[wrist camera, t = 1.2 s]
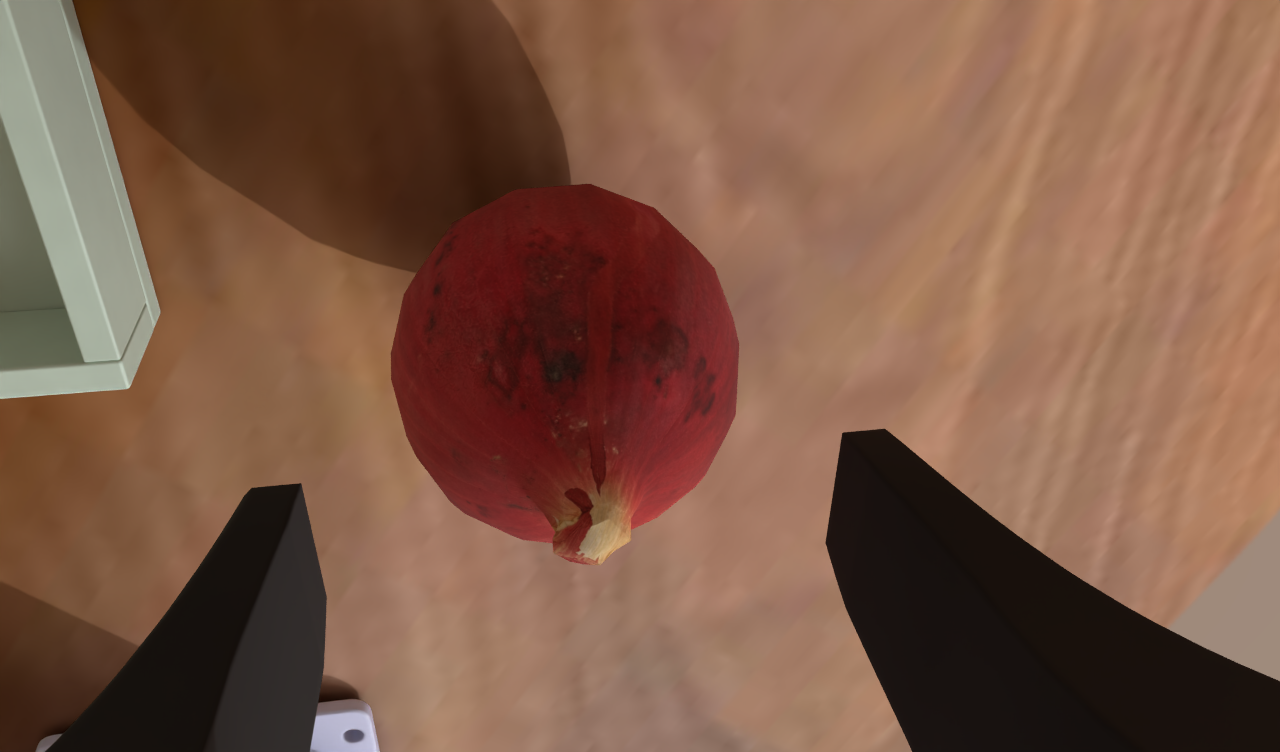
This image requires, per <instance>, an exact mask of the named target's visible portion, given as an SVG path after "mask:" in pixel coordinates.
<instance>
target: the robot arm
mask: <svg viewBox="0 0 1280 752" xmlns="http://www.w3.org/2000/svg"><path fill="white" fill-rule="evenodd" d="M826 546H827V549H828V553H829V556H830V559H831V563H832V566H833V569H834V573H835V576H836V579H837V582H838V586H839V589H840V592H841V595H842V598H843V601H844V604H845V607H846V609H847V612H848V614H849V616H850V618H851V621H852V623H853V625H854V627H855V629H856V632H857V634H858V636H859V638H860V640H861V642H862V645H863V647H864V649H865V651H866V653H867V656H868V658H869V660H870V662H871V664H872V666H873V668H874V670H875V673H876V675H877V677H878V679H879V681H880V683H881V685H882V688H883V690H884V692H885V694H886V696H887V698H888V700H889V702H890V705H891V707H892V709H893V711H894V713H895V715H896V717H897V720H898V722H899V724H900V726H901V728H902V730H903V732H904V734H905V737H906V739H907V741H908V743H909V745H910V748H911V750H912V752H1280V681H1278V680H1276V679H1273V678H1271V677H1269V676H1266V675H1264V674H1262V673H1259V672H1257V671H1254V670H1252V669H1250V668H1248V667H1245V666H1243V665H1241V664H1238V663H1236V662H1234V661H1232V660H1230V659H1227V658H1225V657H1223V656H1221V655H1219V654H1217V653H1215V652H1212V651H1210V650H1208V649H1206V648H1204V647H1202V646H1200V645H1198V644H1196V643H1193V642H1192V641H1190V640H1188V639H1186V638H1184V637H1182V636H1180V635H1178V634H1176V633H1174V632H1172V631H1170V630H1169V629H1167V628H1165V627H1163V626H1161V625H1159V624H1157V623H1155V622H1153V621H1151V620H1149V619H1148V618H1146V617H1144V616H1142V615H1140V614H1138V613H1137V612H1135V611H1133V610H1131V609H1129V608H1128V607H1126V606H1124V605H1123V604H1121V603H1119V602H1118V601H1116V600H1114V599H1113V598H1111V597H1109V596H1108V595H1106V594H1104V593H1103V592H1101V591H1099V590H1098V589H1096V588H1094V587H1093V586H1091V585H1089V584H1088V583H1086V582H1085V581H1083V580H1081V579H1080V578H1078V577H1077V576H1075V575H1074V574H1072V573H1071V572H1069V571H1067V570H1066V569H1064V568H1063V567H1061V566H1060V565H1058V564H1057V563H1056V562H1054V561H1053V560H1051V559H1050V558H1048V557H1047V556H1046V555H1044V554H1043V553H1041V552H1040V551H1039V550H1037V549H1036V548H1034V547H1033V546H1031V545H1030V544H1029V543H1027V542H1026V541H1024V540H1023V539H1022V538H1020V537H1019V536H1017V535H1016V534H1015V533H1013V532H1012V531H1011V530H1009V529H1008V528H1007V527H1005V526H1004V525H1003V524H1001V523H1000V522H999V521H998V520H996V519H995V518H994V517H992V516H991V515H990V514H988V513H987V512H986V511H985V510H983V509H982V508H981V507H980V506H978V505H977V504H976V503H975V502H973V501H972V500H971V499H970V498H968V497H967V496H966V495H965V494H963V493H962V492H961V491H960V490H958V489H957V488H956V487H955V486H954V485H952V484H951V483H950V482H949V481H948V480H946V479H945V478H944V477H943V476H942V475H940V474H939V473H938V472H937V471H935V470H934V469H933V468H932V467H931V466H929V465H928V464H927V463H926V462H925V461H924V460H922V459H921V458H920V457H919V456H918V455H916V454H915V453H914V452H913V451H912V450H910V449H909V448H908V447H907V446H906V445H904V444H903V443H902V442H901V441H900V440H898V439H897V438H896V437H895V436H893V435H892V434H891V433H890V432H888V431H887V430H886V429H877V430H867V431H856V432H845V433H842V439H841V445H840V452H839V458H838V465H837V471H836V478H835V484H834V491H833V498H832V504H831V511H830V517H829V524H828V530H827V537H826ZM326 600H327V596H326V592H325V588H324V583H323V579H322V574H321V570H320V565H319V561H318V556H317V552H316V547H315V543H314V539H313V534H312V530H311V525H310V521H309V516H308V512H307V507H306V503H305V498H304V494H303V490H302V485H301V483H300V484H289V485H278V486H268V487H257V488H251V489H250V490H249V491H248V493H247V494H246V495H245V496H244V497H243V499H242V500H241V502H240V504H239V505H238V507H237V509H236V510H235V512H234V513H233V515H232V517H231V518H230V520H229V521H228V523H227V525H226V526H225V528H224V529H223V531H222V533H221V534H220V536H219V537H218V539H217V540H216V542H215V543H214V545H213V546H212V548H211V549H210V551H209V552H208V554H207V555H206V557H205V558H204V560H203V561H202V563H201V564H200V566H199V567H198V569H197V570H196V572H195V573H194V575H193V576H192V577H191V579H190V580H189V582H188V583H187V584H186V586H185V587H184V589H183V590H182V591H181V593H180V594H179V596H178V597H177V598H176V600H175V601H174V603H173V604H172V605H171V607H170V608H169V610H168V611H167V612H166V614H165V615H164V616H163V618H162V619H161V620H160V622H159V623H158V624H157V625H156V627H155V628H154V629H153V630H152V632H151V633H150V634H149V635H148V637H147V638H146V639H145V640H144V642H143V643H142V644H141V646H140V647H139V648H138V649H137V651H136V652H135V653H134V654H133V656H132V657H131V658H130V659H129V661H128V662H127V663H126V664H125V666H124V667H123V668H122V669H121V670H120V672H119V673H118V674H117V675H116V676H115V677H114V679H113V680H112V681H111V682H110V683H109V684H108V686H107V687H106V688H105V689H104V690H103V691H102V692H101V694H100V695H99V696H98V697H97V698H96V699H95V700H94V701H93V702H92V704H91V705H90V706H89V707H88V708H87V709H86V710H85V711H84V712H83V713H82V714H81V715H80V716H79V717H78V719H77V720H76V721H75V722H74V723H73V724H72V725H71V726H70V727H69V728H68V729H67V730H66V731H65V732H64V733H63V734H56V735H51V736H48V737H45V738H44V739H42V740H41V741H40V742H39V744H38V746H37V749H36V751H35V752H380V750H379V745H378V740H377V735H376V730H375V725H374V720H373V715H372V710H371V708H370V706H369V705H368V704H367V703H365V702H364V701H361V700H358V699H345V700H337V701H329V702H321V703H318V700H319V694H320V688H321V682H322V675H323V669H324V650H325V628H326ZM354 729H356V730H354Z"/></svg>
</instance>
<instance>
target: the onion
mask: <svg viewBox="0 0 1280 752" xmlns="http://www.w3.org/2000/svg"><path fill="white" fill-rule="evenodd" d="M738 357H739V341H738V337H737V333H736V329H735V324H734V320H733V317H732V314H731V311H730V309H729V306H728V303H727V301H726V298H725V295H724V293H723V290H722V287H721V285H720V282H719V279H718V277H717V274H716V271H715V268H714V267H713V266H712V265H711V264H710V263H709V262H708V261H707V259H706V258H705V257H704V256H703V255H702V254H701V253H700V251H699V250H698V249H697V248H696V247H695V246H694V245H693V244H692V243H691V242H689V241H688V240H687V239H686V238H685V237H684V236H683V235H682V234H681V233H680V232H679V231H678V230H677V229H676V228H675V227H674V226H673V225H672V224H671V223H670V222H669V221H667V220H666V219H665V218H664V217H663V216H662V215H661V214H660V213H659V212H658V211H657V210H656V209H655V208H653V207H650V206H648V205H645V204H642V203H640V202H637V201H634V200H632V199H629V198H626V197H624V196H621V195H618V194H616V193H613V192H610V191H608V190H605V189H602V188H600V187H597V186H594V185H592V184H581V185H568V186H554V187H541V188H527V189H515V190H513V191H511V192H510V193H508V194H506V195H504V196H502V197H500V198H498V199H496V200H495V201H493V202H491V203H489V204H487V205H485V206H483V207H481V208H479V209H478V210H476V211H474V212H472V213H470V214H468V215H466V216H464V217H463V218H461V219H459V220H457V221H455V222H453V223H452V224H451V226H450V227H449V229H448V230H447V231H446V233H445V234H444V236H443V237H442V239H441V240H440V241H439V243H438V244H437V246H436V247H435V248H434V250H433V251H432V253H431V254H430V255H429V257H428V258H427V260H426V261H425V263H424V264H423V265H422V267H421V268H420V270H419V271H418V272H417V274H416V276H415V277H414V279H413V280H412V282H411V284H410V285H409V287H408V289H407V290H406V292H405V294H404V297H403V301H402V306H401V310H400V315H399V319H398V324H397V329H396V333H395V338H394V342H393V347H392V351H391V380H392V384H393V387H394V391H395V395H396V399H397V402H398V406H399V410H400V414H401V417H402V421H403V425H404V428H405V432H406V436H407V438H408V440H409V442H410V444H411V446H412V448H413V451H414V453H415V455H416V457H417V458H418V459H419V461H420V462H421V463H422V465H423V466H424V467H425V469H426V470H427V471H428V473H429V474H430V475H431V477H432V478H433V479H434V481H435V482H436V483H437V485H438V486H439V487H440V488H441V490H442V491H443V492H444V494H445V495H446V496H447V498H448V499H449V500H450V502H451V503H453V504H454V505H455V506H456V507H457V508H459V509H460V510H461V511H462V512H463V513H465V514H467V515H469V516H471V517H473V518H475V519H477V520H480V521H482V522H484V523H486V524H488V525H490V526H493V527H495V528H497V529H499V530H501V531H503V532H505V533H508V534H510V535H512V536H514V537H517V538H520V539H522V540H529V541H539V542H548V543H553V553H555V554H557V555H558V556H560V557H562V558H564V559H566V560H568V561H570V562H575V563H580V564H589V565H601V564H602V563H603V562H604V561H605V560H606V559H607V558H608V556H609V555H610V554H611V553H612V552H613V551H615V550H617V549H618V548H620V547H621V546H623V545H625V544H626V543H628V542H629V541H631V530H632V529H634V528H636V527H638V526H640V525H642V524H644V523H647V522H649V521H651V520H653V519H655V518H657V517H658V516H660V515H661V514H662V513H663V512H665V511H666V510H667V509H668V508H670V507H671V506H672V505H673V504H674V503H676V502H677V501H678V500H679V499H681V498H682V497H683V496H684V495H686V494H687V493H688V492H689V491H691V490H692V489H693V488H694V487H695V486H696V485H697V484H698V483H699V482H700V481H701V479H702V478H703V477H704V476H705V474H706V473H707V471H708V469H709V467H710V465H711V463H712V461H713V459H714V457H715V456H716V454H717V452H718V450H719V448H720V446H721V444H722V442H723V440H724V438H725V437H726V435H727V433H728V430H729V428H730V426H731V424H732V421H733V419H734V417H735V414H736V399H737V379H738Z"/></svg>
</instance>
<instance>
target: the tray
mask: <svg viewBox="0 0 1280 752" xmlns="http://www.w3.org/2000/svg"><path fill="white" fill-rule="evenodd" d="M159 315H160V308H159V304H158V301H157V297H156V294H155V290H154V287H153V283H152V280H151V276H150V273H149V269H148V266H147V262H146V259H145V255H144V252H143V248H142V245H141V241H140V237H139V234H138V230H137V227H136V223H135V220H134V216H133V213H132V209H131V206H130V202H129V199H128V195H127V192H126V188H125V185H124V181H123V178H122V174H121V171H120V167H119V164H118V160H117V156H116V153H115V149H114V146H113V142H112V139H111V135H110V132H109V128H108V125H107V121H106V118H105V114H104V111H103V107H102V104H101V100H100V97H99V93H98V90H97V86H96V83H95V79H94V75H93V72H92V68H91V65H90V61H89V58H88V54H87V51H86V47H85V44H84V40H83V37H82V33H81V30H80V26H79V23H78V19H77V16H76V12H75V9H74V5H73V2H72V0H0V399H3V398H16V397H29V396H42V395H55V394H68V393H81V392H94V391H107V390H119V389H128V388H129V387H130V386H131V383H132V381H133V378H134V376H135V374H136V371H137V369H138V366H139V364H140V361H141V359H142V357H143V354H144V352H145V349H146V347H147V345H148V342H149V340H150V337H151V335H152V332H153V330H154V326H155V325H156V322H157V320H158V317H159Z"/></svg>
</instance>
